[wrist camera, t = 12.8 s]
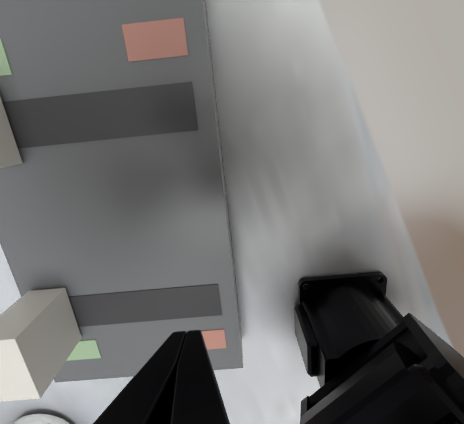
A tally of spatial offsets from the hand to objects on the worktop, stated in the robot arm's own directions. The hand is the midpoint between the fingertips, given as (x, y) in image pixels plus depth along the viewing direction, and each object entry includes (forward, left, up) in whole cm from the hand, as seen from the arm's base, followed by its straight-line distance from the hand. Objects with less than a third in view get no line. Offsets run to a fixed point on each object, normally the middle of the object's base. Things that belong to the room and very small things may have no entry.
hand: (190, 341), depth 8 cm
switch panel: (+6, -1, -12) cm, 13 cm away
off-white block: (+11, +5, -9) cm, 15 cm away
